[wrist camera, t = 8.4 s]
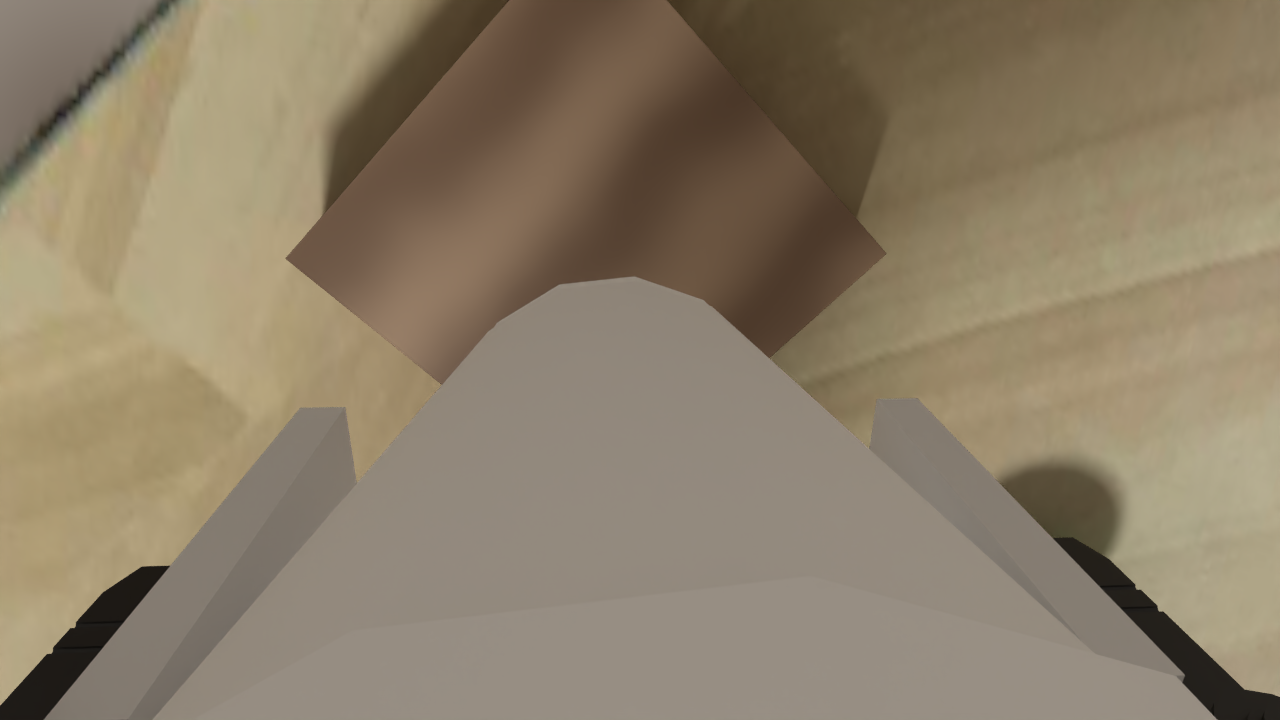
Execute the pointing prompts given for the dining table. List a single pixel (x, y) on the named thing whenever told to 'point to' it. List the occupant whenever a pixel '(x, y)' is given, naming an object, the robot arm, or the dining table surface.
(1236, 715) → the robot arm
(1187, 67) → the dining table surface
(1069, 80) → the dining table surface
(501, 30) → the walnut base
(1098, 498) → the dining table surface
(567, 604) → the foam cup
